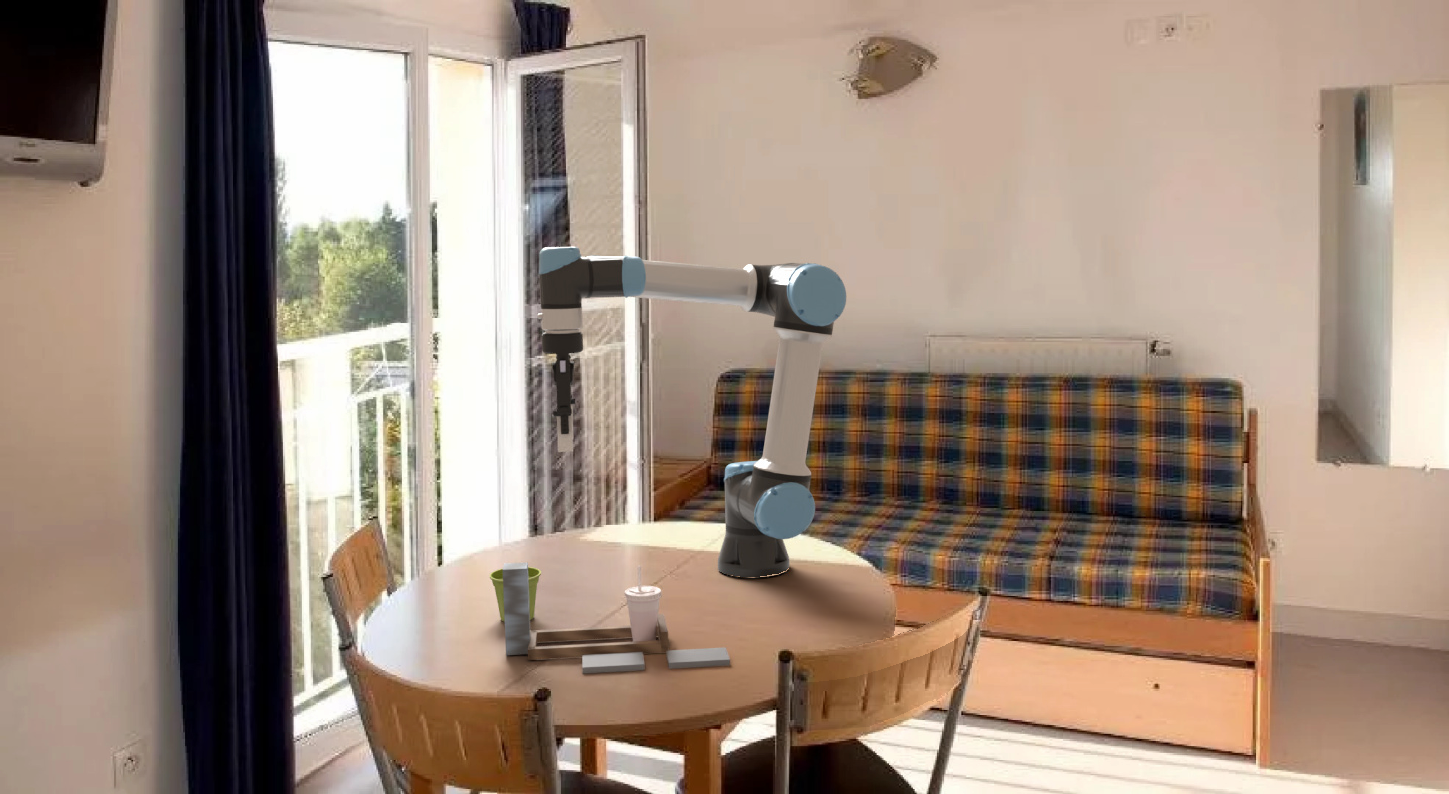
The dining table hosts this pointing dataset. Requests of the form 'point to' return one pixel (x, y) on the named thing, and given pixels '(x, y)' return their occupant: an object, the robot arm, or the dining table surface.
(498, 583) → the plant pot
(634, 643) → the sled
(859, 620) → the dining table surface
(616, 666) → the broken strip
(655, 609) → the smoothie
